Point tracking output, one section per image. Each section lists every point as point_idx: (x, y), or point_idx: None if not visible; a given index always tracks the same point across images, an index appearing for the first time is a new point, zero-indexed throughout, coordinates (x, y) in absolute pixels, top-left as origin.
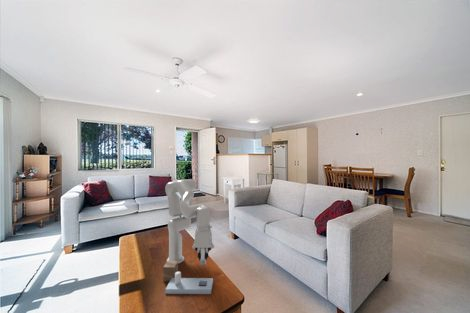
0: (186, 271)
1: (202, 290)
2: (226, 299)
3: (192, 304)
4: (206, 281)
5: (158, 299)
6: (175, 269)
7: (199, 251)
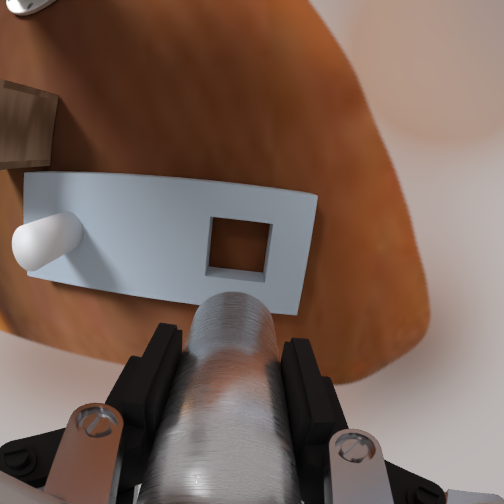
0: (107, 55)
1: None
2: (371, 340)
3: None
4: (265, 222)
5: (31, 298)
6: (12, 141)
7: (138, 484)
